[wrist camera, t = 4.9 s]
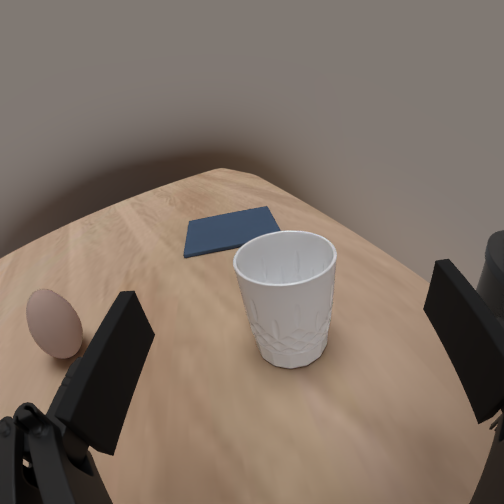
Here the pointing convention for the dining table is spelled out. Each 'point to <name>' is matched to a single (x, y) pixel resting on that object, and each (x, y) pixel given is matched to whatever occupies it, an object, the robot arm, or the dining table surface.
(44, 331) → the egg
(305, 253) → the white cup
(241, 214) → the glassware mat
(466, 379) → the robot arm
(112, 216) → the dining table surface
